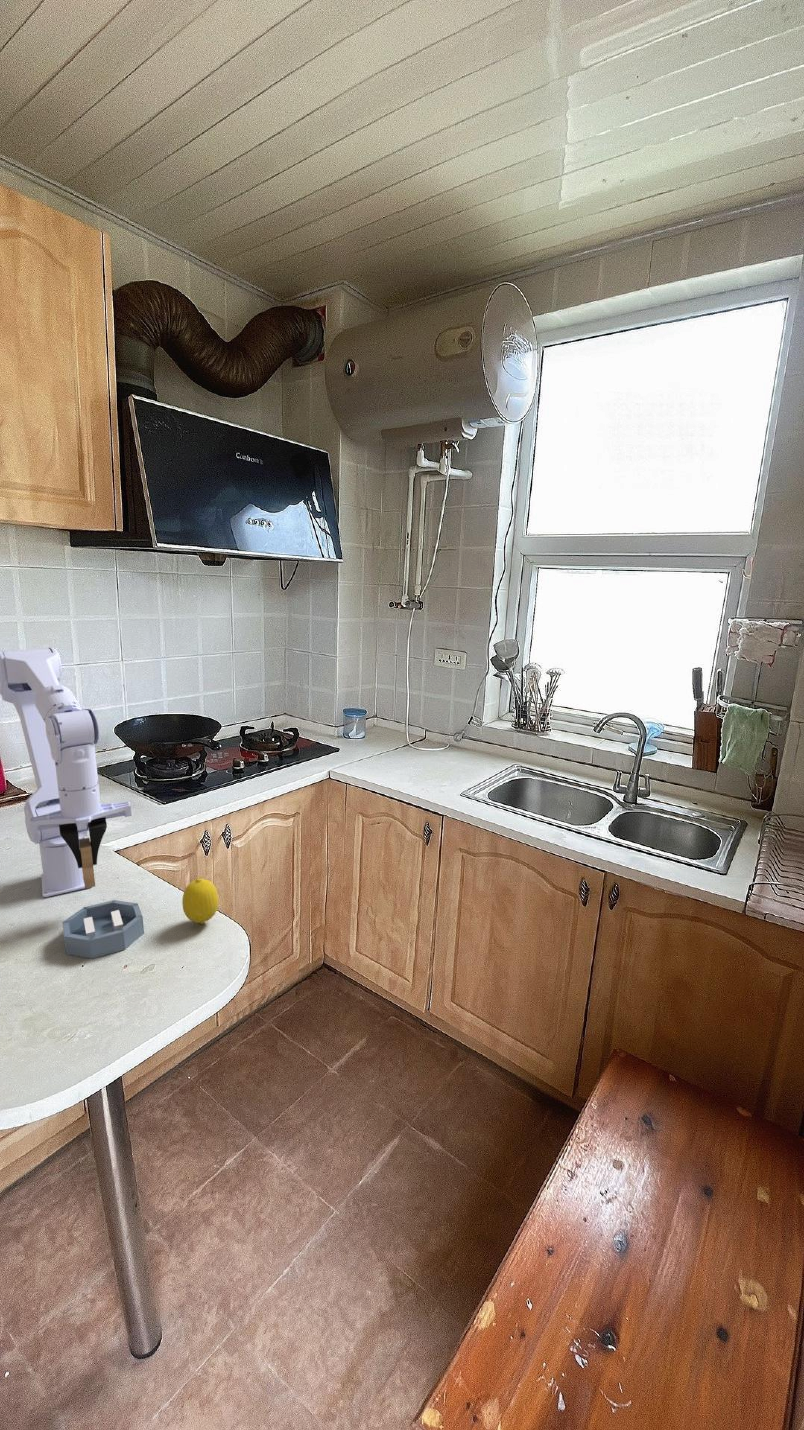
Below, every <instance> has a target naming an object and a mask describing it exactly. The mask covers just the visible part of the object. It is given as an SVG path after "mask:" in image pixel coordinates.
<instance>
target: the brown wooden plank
mask: <svg viewBox="0 0 804 1430" xmlns="http://www.w3.org/2000/svg"><path fill="white" fill-rule="evenodd" d="M79 845H80V852H81V858H82V867H83V868H82V871H83V879H84V885H85V888H84V889H88V888H93V887H96V880H95V871H94V870H95V869H94V865H93V860H92V851H91V844H90V837H85V838H84V839H79Z"/></svg>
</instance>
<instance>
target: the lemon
mask: <svg viewBox="0 0 804 1430" xmlns="http://www.w3.org/2000/svg"><path fill="white" fill-rule="evenodd" d="M181 905H182V910H183V913H184V915H185V916H186V917H187V919H188V920H189V921H192V922H193V923H197V924H200V925H203V924H205V922H208V921H209V920H211V919H212V918H213V917H214V916H215V915H216V912H217V910H218V908H219V895H218V890H217V888H216V886H215V885H214V883H213V882H211V881H210V880H208V879H205V878H201V877H198V878H196V879H194V880H193V881H191V882H190V883H188V885H187V886H186V887H185V888H184V891H183V895H182V904H181Z"/></svg>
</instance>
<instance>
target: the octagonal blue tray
mask: <svg viewBox="0 0 804 1430" xmlns="http://www.w3.org/2000/svg"><path fill="white" fill-rule="evenodd" d="M61 923H62V929H63V930H62V932H63V940H64V948H65V954H66V955H68V956H74V957H81V958H86V959H91V960H93V959H96V958H99V957H103V956H107V955H111V954H115V953H117V952H121V951H125V950H126V949H128V947H130V946H131V945H132V944H133V943H135V942H136V941H137V940H139V938H141V936H143V935H144V934H145V928H144V918H143V915H142V911H141V908H140V906H139V903H137V902H136V903H135V902H131V901H123V900H117V899H116V900H115V899H113V900H109V901H104V902H100V903H95V904H92V905H88V906H84V907H82V908H81V909H79V910H78V911H76V912H74V914H72V915H71V916H69V917H68V918H66V919H65V920H63V921H62V922H61Z"/></svg>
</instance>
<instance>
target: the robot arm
mask: <svg viewBox="0 0 804 1430" xmlns="http://www.w3.org/2000/svg"><path fill="white" fill-rule="evenodd" d="M62 667H63V666H62V660H61V656H60V654H59V652H58V650H57V649H55V647H52V646H49V647H47V648H33V649H31V648H30V649H18V650H17V649H16V650H15V649H14V650H0V696H1V699H2V701H4V702H7V703H9V704H13V705H14V707H15V710H16V712H17V714H18V717H19V720H20V725H21V728H22V731H23V736H24V740H25V744H26V747H27V751H28V756H29V761H30V764H31V769H32V772H33V773H32V774H33V775H34V780H35V783H36V784H35V785H36V788H37V789H36V790H35V791H34V792H33V793H32V794H31V795H29V797H28V798H27V799H26V800H25V803H24V806H23V811H24V812H23V813H24V821H25V828H26V832H27V835H28V837H29V840H30V842H32V843H34V845H35V844H36V845H38V846H39V853H40V854H39V855H40V862H41V867H42V869H41V870H42V873H41V876H40V877H41V892H42V898H48V897H52V896H57V895H61V894H65V893H69V892H70V893H71V892H75V891H79V890H80V891H81V890H83V889H86V888H85V885H84V879H83V871H82V868H83V867H82V858H81V852H80V845H79V839H84V838H88V834H89V839H90V844H91V851H92V860H93V866H97V865H98V855H99V850H100V845H101V843H102V840H103V837H104V835H105V833H106V831H107V828H108V825H107V824H108V823H107V819H113V818H118V817H119V818H120V817H124V818H127V817H133V812H132V811H133V810H132V805H131V802H130V801H125V802H109V803H101V795H100V786H99V783H100V782H99V776H98V766H97V755H96V746H95V745H98V743H99V739H100V727H99V723H98V720H97V719H98V718H97V716H96V714H95V712H94V711H93V709H92V708H90V707H89V708H88V707H83V706H82V705H81V704H80V703H79V701H78V699H77V698H76V697H75V694H74V693H73V692H72V690H71V689H69V687H67V686H64V685H62V684H61V678H62V673H63V670H62V669H63V668H62Z"/></svg>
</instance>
